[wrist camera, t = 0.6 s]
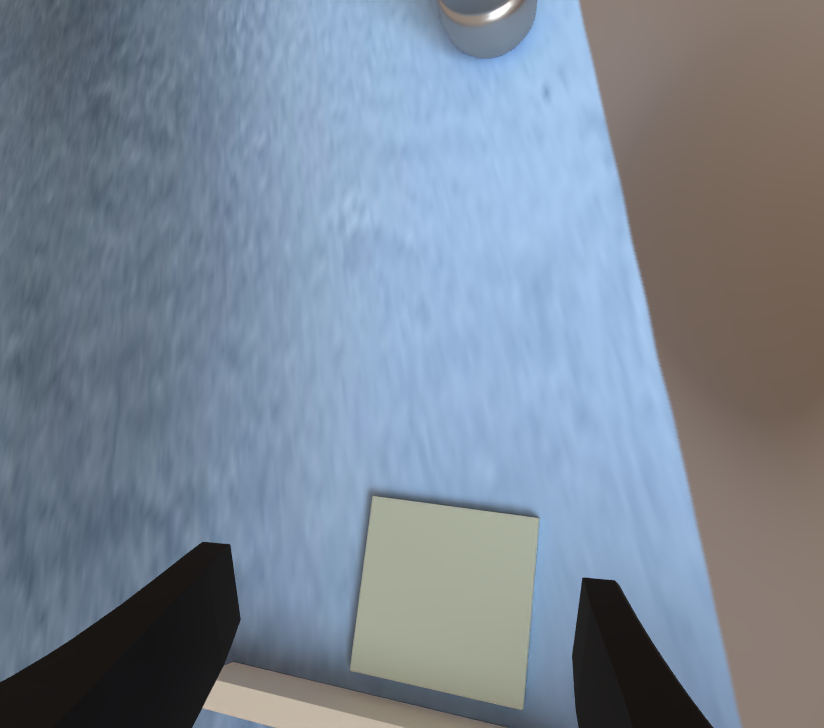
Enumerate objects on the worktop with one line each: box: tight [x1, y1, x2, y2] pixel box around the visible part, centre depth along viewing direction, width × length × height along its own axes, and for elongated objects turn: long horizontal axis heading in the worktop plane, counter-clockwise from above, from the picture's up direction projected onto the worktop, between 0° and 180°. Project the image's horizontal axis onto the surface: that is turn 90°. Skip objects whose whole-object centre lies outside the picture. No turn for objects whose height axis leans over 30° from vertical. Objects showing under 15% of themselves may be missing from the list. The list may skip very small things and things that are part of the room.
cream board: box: [202, 662, 507, 728], centre depth 34 cm, size 2×22×4 cm, turn 83°
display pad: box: [350, 496, 540, 710], centre depth 36 cm, size 10×10×1 cm
